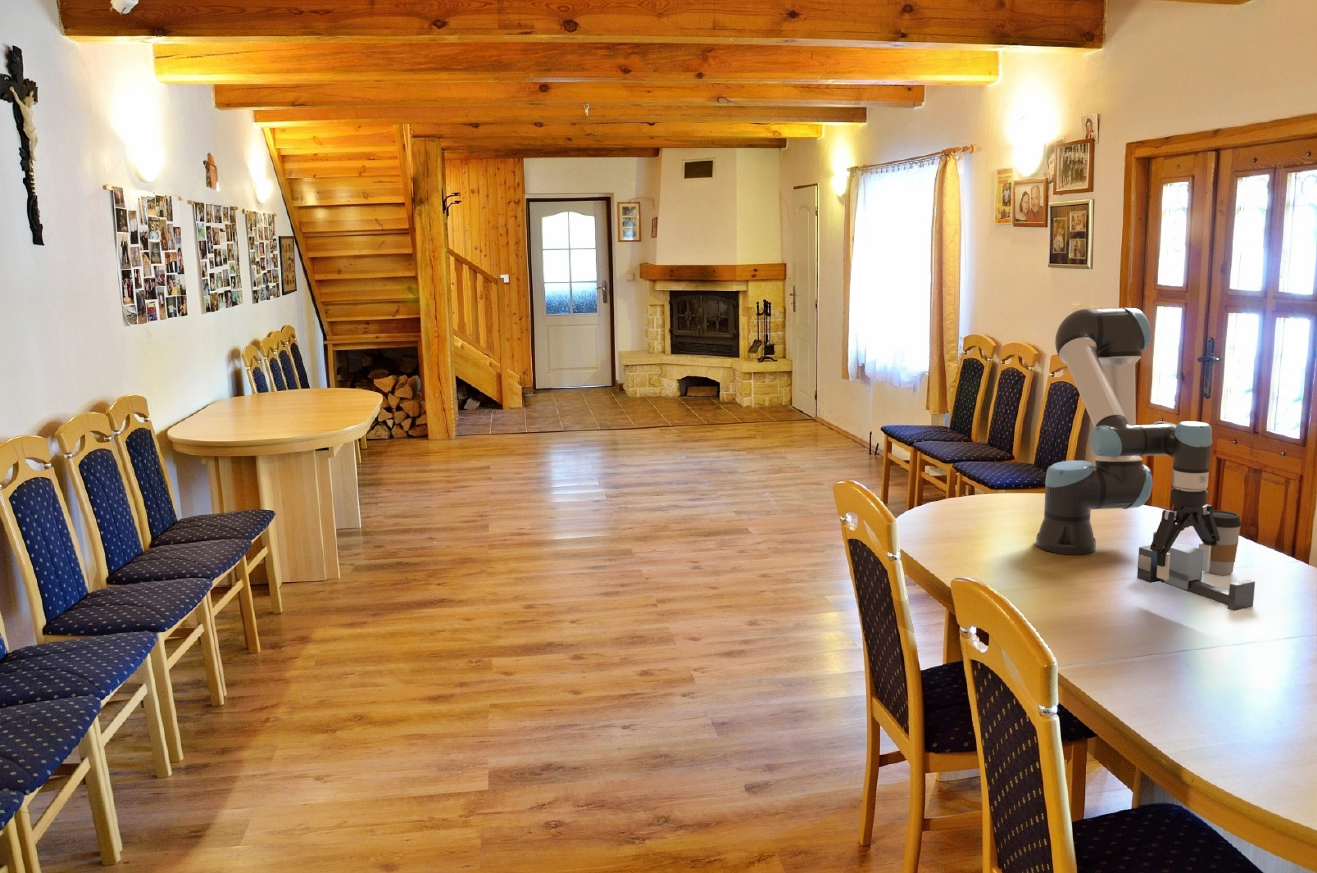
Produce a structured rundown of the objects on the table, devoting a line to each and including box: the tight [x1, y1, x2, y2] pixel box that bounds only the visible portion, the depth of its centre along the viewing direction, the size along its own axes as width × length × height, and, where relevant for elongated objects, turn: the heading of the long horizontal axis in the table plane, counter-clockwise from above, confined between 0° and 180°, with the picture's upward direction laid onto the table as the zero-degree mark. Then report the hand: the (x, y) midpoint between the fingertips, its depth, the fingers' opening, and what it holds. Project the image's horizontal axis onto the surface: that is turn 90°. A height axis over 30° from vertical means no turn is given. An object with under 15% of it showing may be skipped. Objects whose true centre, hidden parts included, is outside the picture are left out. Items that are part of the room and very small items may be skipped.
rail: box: [1160, 579, 1229, 606], centre depth 231 cm, size 19×2×2 cm, turn 22°
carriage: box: [1164, 543, 1204, 591], centre depth 235 cm, size 6×5×9 cm
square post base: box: [1227, 578, 1256, 612], centre depth 221 cm, size 2×6×6 cm, turn 112°
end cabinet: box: [1136, 544, 1161, 584], centre depth 242 cm, size 4×8×8 cm, turn 112°
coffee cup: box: [1202, 510, 1242, 577], centre depth 244 cm, size 8×8×15 cm
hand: (1183, 574), depth 235 cm, fingers open, 13 cm apart
